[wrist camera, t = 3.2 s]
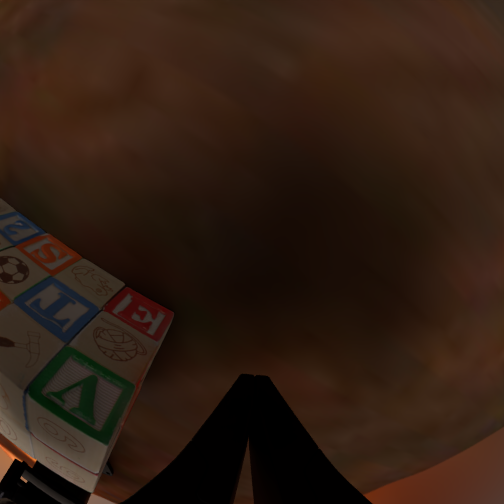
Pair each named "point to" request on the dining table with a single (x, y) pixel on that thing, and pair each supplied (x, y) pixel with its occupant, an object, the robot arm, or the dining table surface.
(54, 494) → the robot arm
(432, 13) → the dining table surface
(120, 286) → the stack of blocks
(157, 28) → the dining table surface
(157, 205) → the dining table surface
